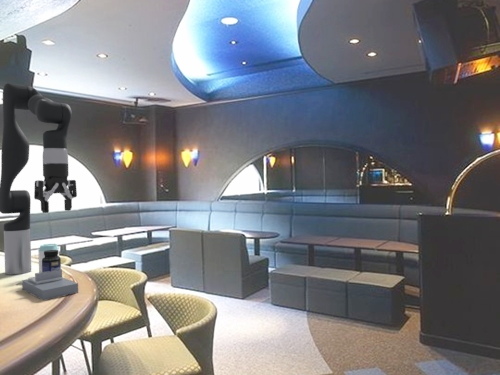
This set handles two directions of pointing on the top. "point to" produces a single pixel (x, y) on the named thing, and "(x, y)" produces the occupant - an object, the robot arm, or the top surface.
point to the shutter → (46, 276)
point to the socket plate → (50, 288)
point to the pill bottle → (51, 261)
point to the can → (45, 248)
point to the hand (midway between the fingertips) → (56, 211)
